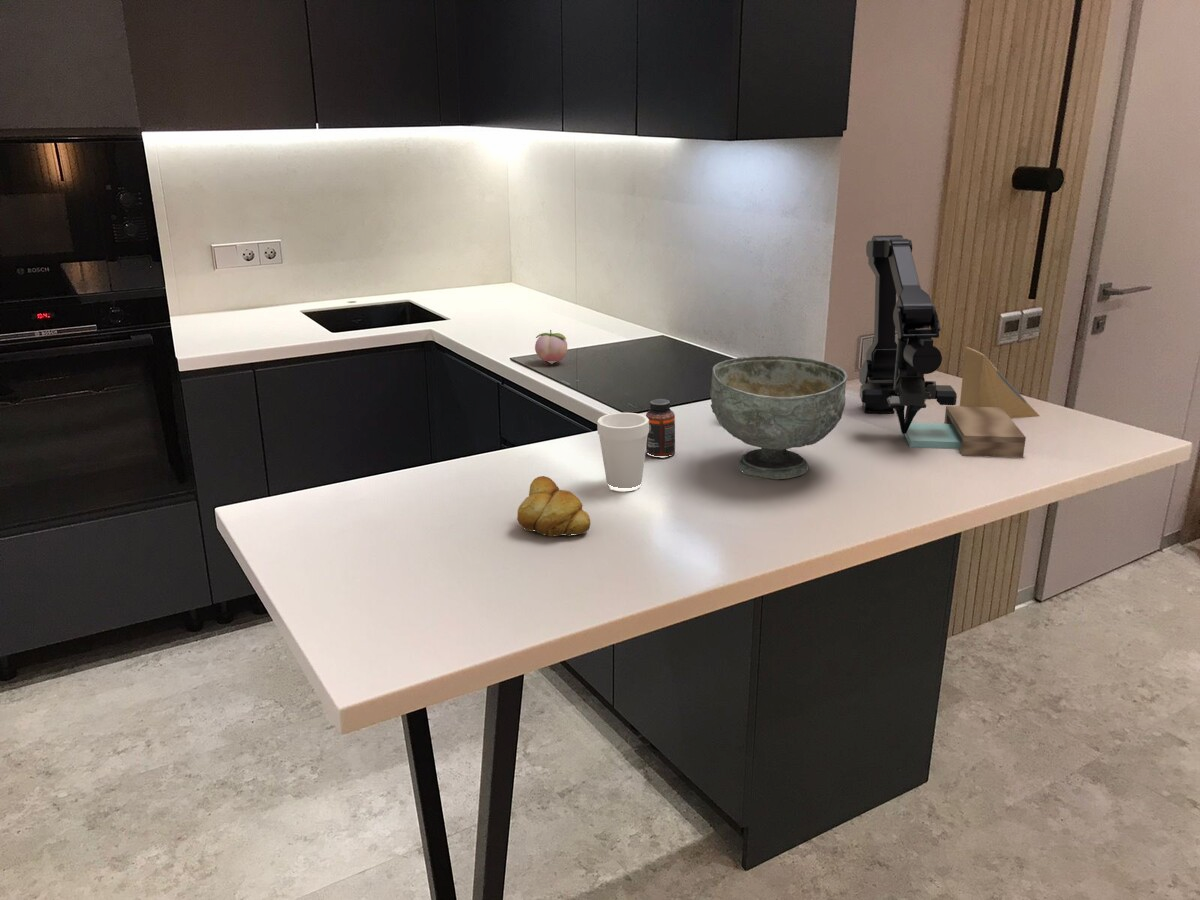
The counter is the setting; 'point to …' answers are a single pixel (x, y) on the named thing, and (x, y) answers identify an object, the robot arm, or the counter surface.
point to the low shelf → (986, 431)
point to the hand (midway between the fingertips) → (903, 433)
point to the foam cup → (623, 447)
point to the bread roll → (552, 510)
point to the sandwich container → (990, 387)
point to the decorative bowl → (777, 408)
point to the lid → (933, 436)
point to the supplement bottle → (661, 428)
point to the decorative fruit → (551, 346)
